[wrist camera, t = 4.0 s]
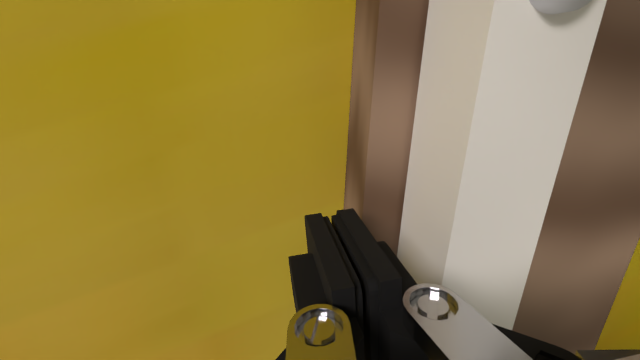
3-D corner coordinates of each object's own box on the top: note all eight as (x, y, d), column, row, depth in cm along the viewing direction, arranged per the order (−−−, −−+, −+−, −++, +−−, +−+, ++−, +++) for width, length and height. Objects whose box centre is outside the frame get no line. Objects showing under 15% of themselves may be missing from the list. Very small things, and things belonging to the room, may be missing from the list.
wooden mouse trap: (366, -170, 10) (477, -406, 5) (697, -110, 13) (988, -226, 8) (333, 383, 18) (364, 506, 13) (543, 349, 21) (637, 442, 16)
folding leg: (437, -67, 9) (533, -137, 6) (527, -56, 10) (658, -114, 7) (391, 294, 13) (434, 365, 10) (457, 287, 14) (517, 352, 11)
